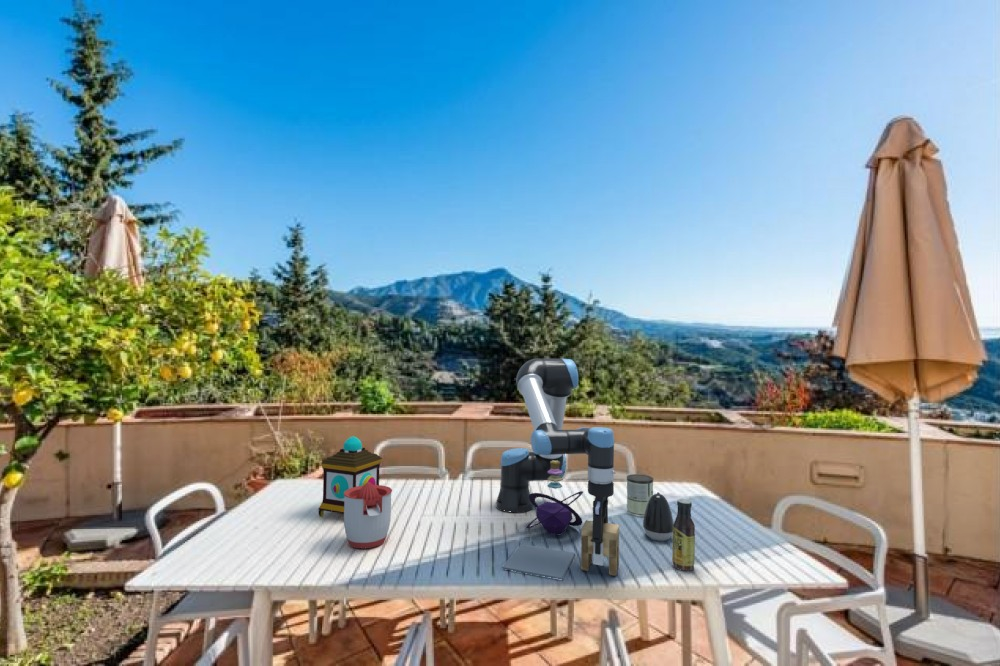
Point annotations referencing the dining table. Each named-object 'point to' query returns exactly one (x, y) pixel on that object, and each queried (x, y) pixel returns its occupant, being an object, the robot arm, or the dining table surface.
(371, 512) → the citrus juicer
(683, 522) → the sauce bottle
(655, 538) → the black egg shape
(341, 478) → the decorative lantern
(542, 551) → the slate mat
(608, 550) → the notched wooden block
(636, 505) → the coffee can
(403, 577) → the dining table surface
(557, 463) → the ringed planet sculpture
